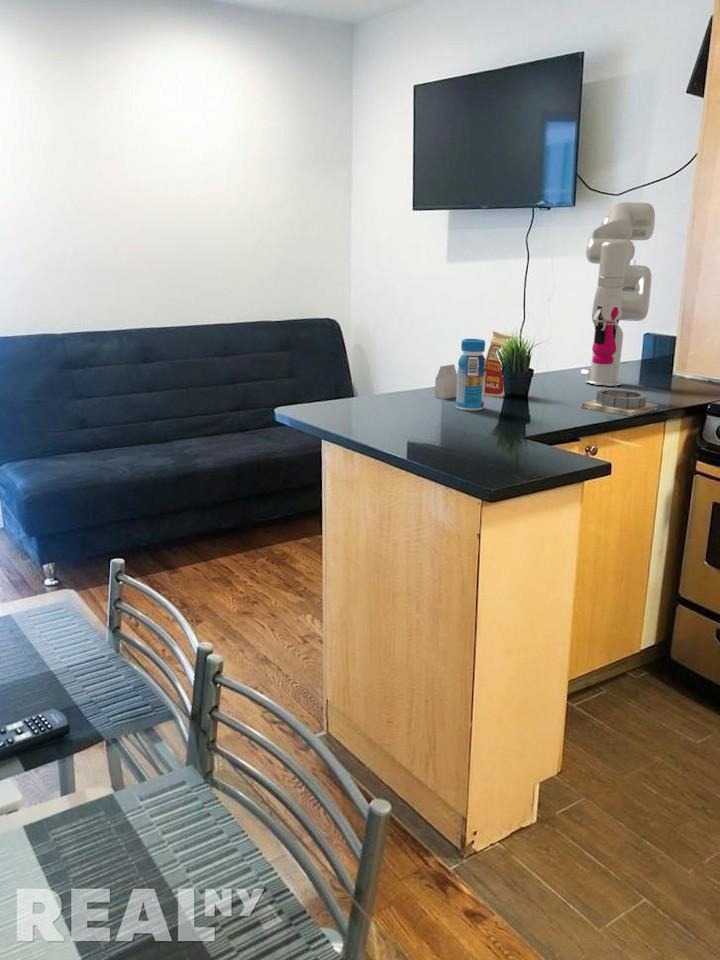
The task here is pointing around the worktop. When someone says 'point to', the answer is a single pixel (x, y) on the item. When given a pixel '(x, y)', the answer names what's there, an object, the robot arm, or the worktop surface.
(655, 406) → the birch board
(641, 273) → the robot arm
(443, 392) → the tea bag
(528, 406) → the worktop surface
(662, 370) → the worktop surface
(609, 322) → the pepper mill
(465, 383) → the beverage bottle
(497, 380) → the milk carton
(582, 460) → the worktop surface
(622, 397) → the steel ring collar
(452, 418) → the worktop surface
